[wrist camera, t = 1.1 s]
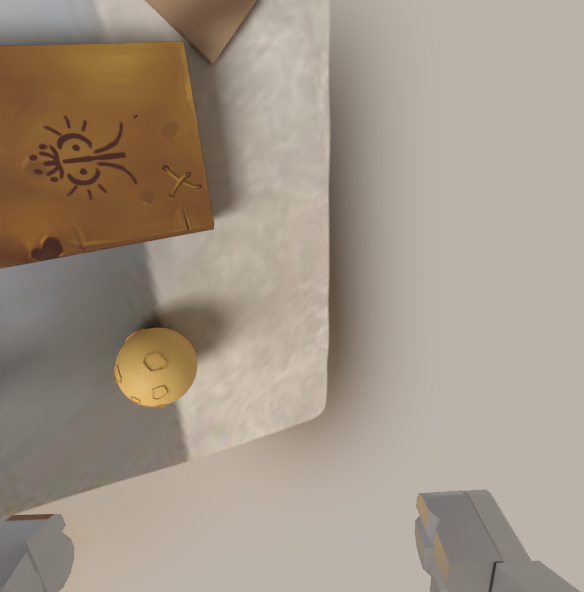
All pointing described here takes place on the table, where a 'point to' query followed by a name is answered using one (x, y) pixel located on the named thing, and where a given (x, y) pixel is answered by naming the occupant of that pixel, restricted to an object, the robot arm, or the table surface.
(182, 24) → the socket board
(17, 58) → the diary
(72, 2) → the table surface
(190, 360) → the stress ball
